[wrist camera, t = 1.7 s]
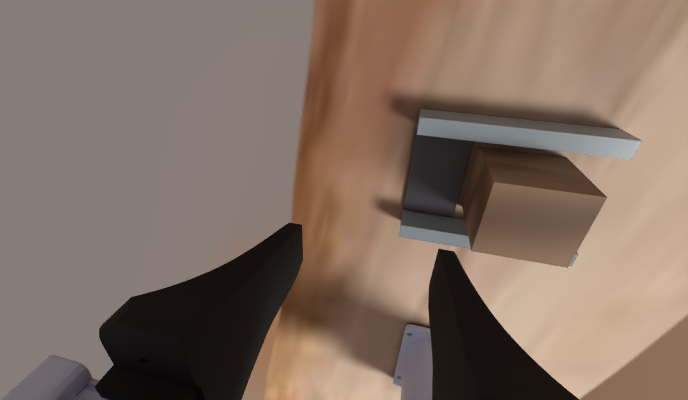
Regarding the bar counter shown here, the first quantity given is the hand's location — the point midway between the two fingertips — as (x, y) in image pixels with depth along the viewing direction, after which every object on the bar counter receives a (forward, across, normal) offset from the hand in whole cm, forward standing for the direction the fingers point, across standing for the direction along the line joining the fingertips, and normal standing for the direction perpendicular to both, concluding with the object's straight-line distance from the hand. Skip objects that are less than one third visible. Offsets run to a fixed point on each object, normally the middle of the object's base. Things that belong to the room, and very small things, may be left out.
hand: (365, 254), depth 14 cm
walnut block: (+10, -8, 0) cm, 12 cm away
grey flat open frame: (+9, -7, 0) cm, 12 cm away
